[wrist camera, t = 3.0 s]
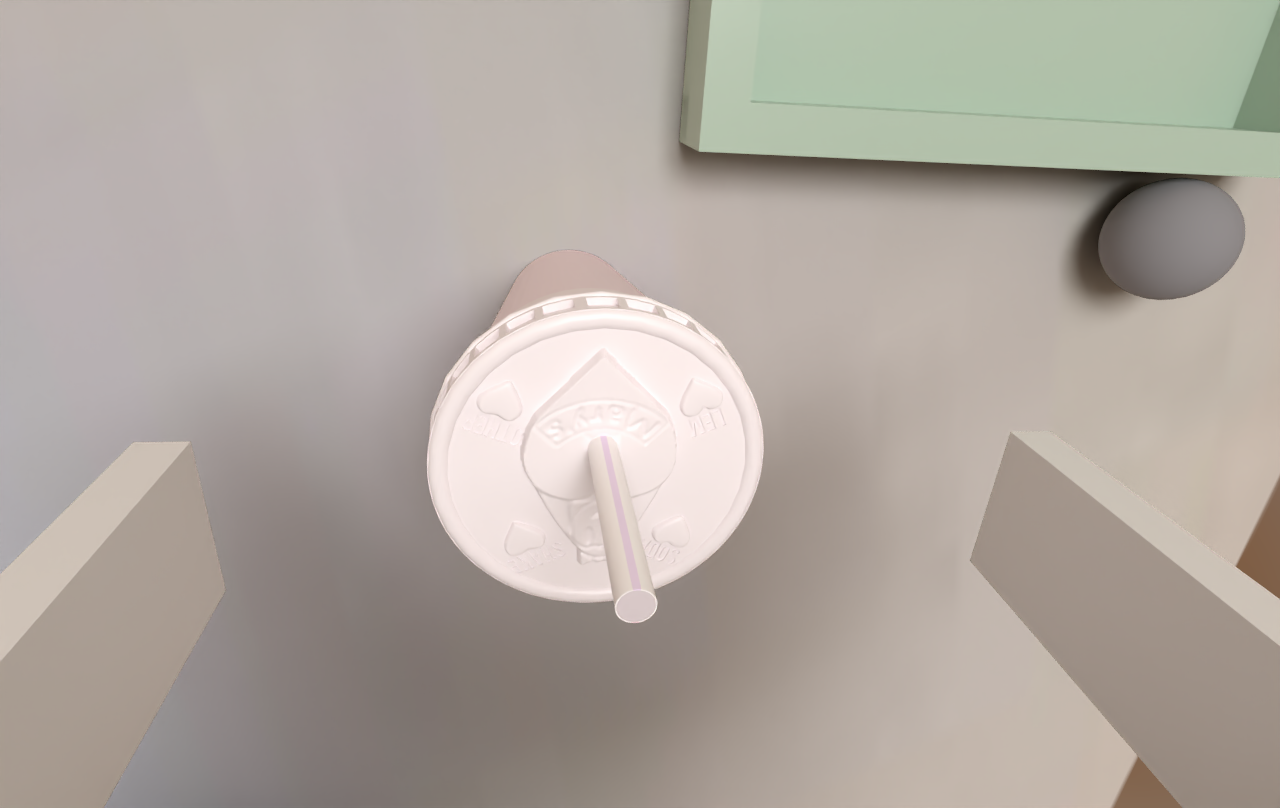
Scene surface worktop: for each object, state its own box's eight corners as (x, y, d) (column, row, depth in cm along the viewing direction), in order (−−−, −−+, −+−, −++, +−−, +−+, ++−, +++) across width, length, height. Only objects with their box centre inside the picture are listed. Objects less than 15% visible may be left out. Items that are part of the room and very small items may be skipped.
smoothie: (680, 205, 21) (909, 416, 9) (666, 403, 24) (826, 781, 11) (454, 200, 20) (349, 430, 8) (466, 407, 23) (404, 826, 10)
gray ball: (1058, 280, 24) (1140, 314, 21) (1092, 167, 23) (1188, 186, 19) (1152, 282, 25) (1247, 315, 22) (1193, 172, 23) (1301, 191, 20)
